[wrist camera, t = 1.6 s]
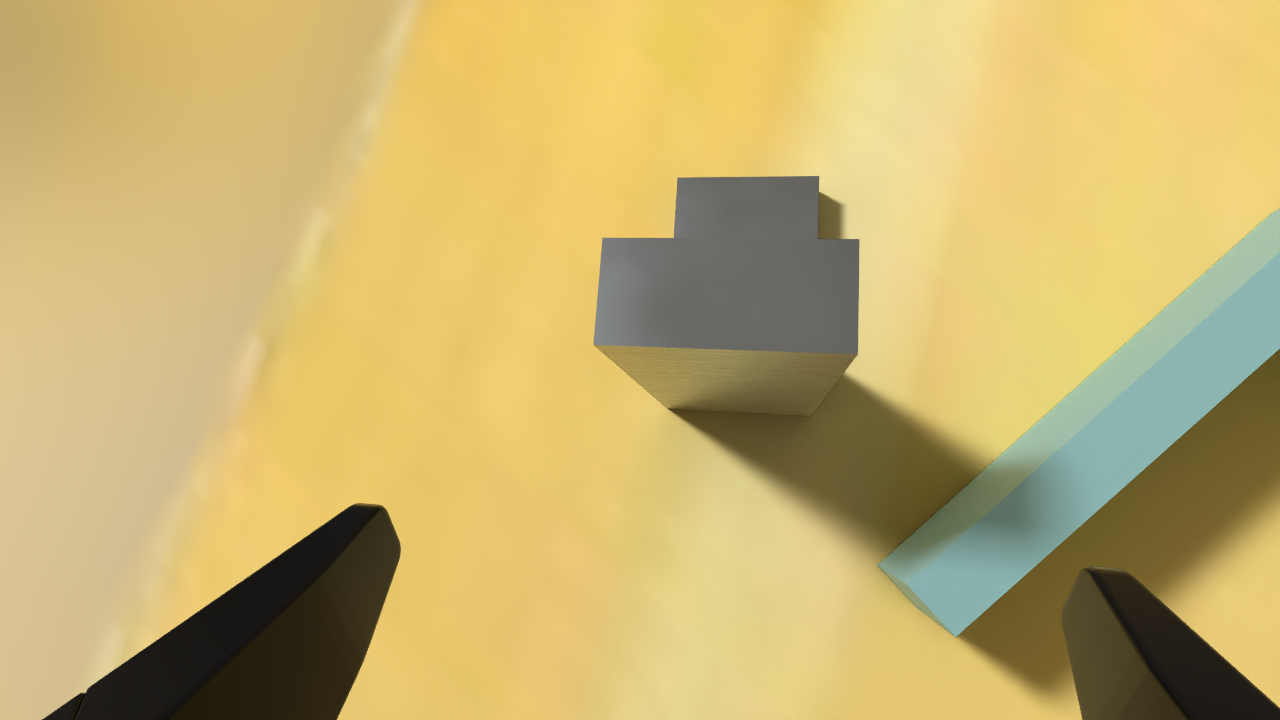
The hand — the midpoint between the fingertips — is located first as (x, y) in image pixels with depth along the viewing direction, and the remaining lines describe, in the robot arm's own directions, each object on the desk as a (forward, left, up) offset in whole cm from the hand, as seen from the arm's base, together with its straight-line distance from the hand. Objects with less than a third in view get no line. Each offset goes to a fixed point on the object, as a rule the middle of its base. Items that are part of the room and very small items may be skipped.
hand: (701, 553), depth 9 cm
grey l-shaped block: (+7, -1, -12) cm, 14 cm away
